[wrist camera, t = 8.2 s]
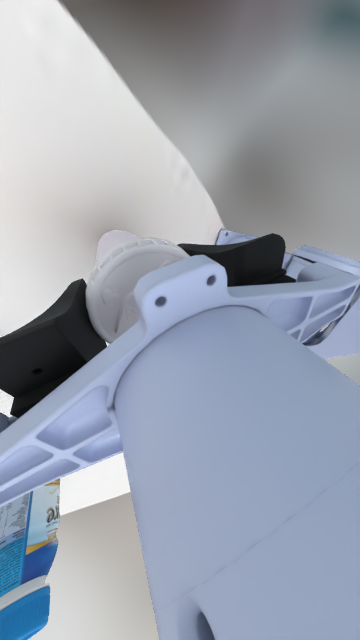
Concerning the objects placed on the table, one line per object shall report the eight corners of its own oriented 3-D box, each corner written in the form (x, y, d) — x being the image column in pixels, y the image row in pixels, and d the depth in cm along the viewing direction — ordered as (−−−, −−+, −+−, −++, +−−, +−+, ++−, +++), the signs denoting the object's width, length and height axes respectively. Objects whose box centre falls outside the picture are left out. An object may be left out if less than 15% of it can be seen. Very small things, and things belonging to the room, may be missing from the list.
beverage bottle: (7, 452, 32) (-44, 680, 17) (65, 440, 37) (62, 611, 22) (4, 476, 35) (-41, 686, 21) (58, 463, 40) (51, 624, 26)
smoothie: (59, 237, 14) (35, 383, 4) (130, 195, 15) (259, 239, 5) (110, 296, 19) (157, 437, 9) (164, 263, 19) (267, 360, 9)
